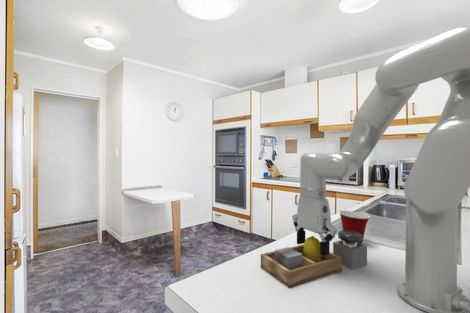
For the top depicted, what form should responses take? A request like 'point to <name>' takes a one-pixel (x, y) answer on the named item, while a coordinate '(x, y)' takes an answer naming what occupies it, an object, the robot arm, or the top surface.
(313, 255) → the lemon
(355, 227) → the plastic cup
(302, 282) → the caddy
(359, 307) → the top surface
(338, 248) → the mount
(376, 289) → the top surface
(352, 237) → the plunger
